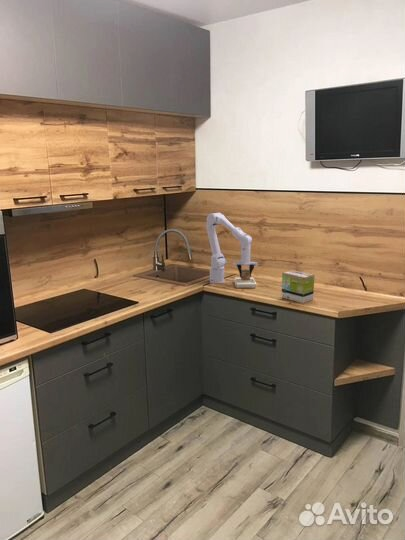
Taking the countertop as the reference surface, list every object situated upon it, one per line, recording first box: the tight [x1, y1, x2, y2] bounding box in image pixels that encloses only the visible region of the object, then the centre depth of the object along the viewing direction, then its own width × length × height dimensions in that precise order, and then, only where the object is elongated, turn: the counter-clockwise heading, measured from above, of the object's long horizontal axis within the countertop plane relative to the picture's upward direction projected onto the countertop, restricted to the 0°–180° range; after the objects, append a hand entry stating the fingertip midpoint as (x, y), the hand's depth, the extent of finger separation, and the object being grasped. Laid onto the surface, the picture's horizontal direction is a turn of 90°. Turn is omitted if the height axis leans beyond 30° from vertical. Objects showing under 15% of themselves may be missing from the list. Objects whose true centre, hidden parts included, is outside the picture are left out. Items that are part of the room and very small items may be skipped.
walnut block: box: [241, 269, 250, 281], centre depth 284 cm, size 5×8×5 cm, turn 1°
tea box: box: [281, 269, 315, 304], centre depth 256 cm, size 15×10×15 cm
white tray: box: [234, 276, 258, 289], centre depth 285 cm, size 12×17×4 cm
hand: (245, 277), depth 284 cm, fingers closed on walnut block, 5 cm apart
